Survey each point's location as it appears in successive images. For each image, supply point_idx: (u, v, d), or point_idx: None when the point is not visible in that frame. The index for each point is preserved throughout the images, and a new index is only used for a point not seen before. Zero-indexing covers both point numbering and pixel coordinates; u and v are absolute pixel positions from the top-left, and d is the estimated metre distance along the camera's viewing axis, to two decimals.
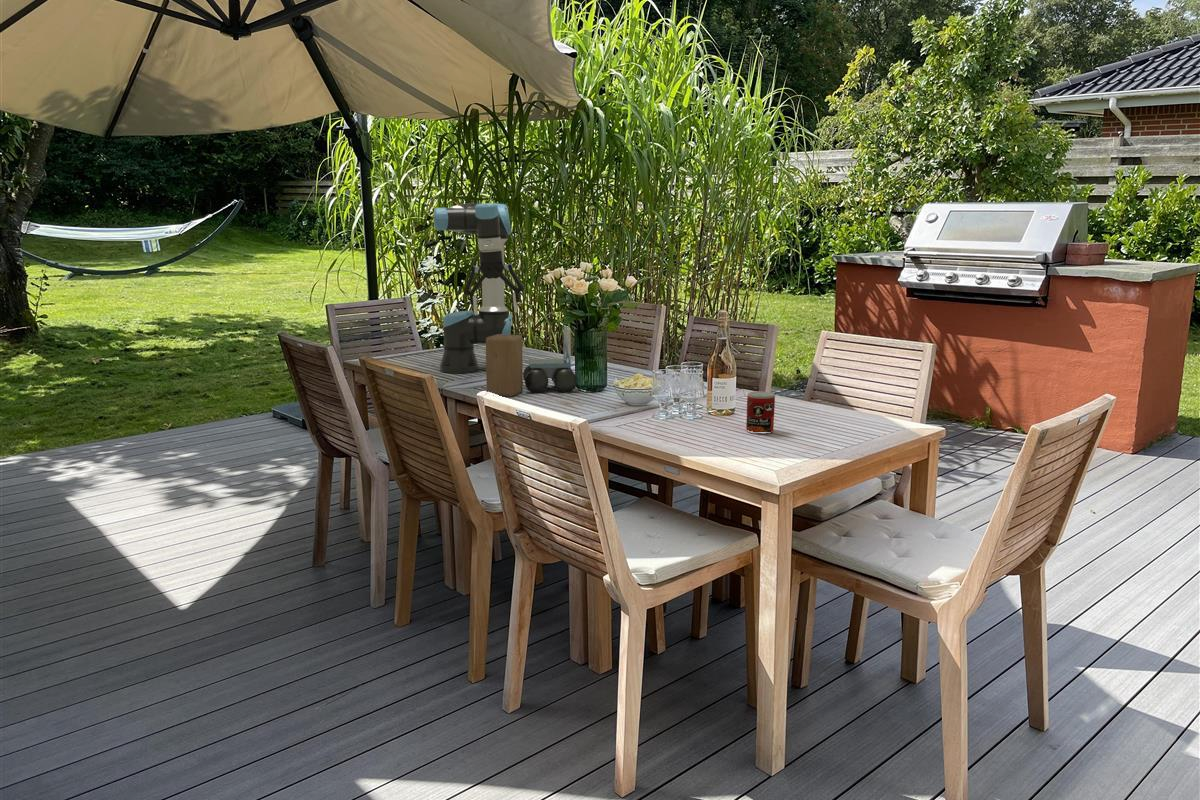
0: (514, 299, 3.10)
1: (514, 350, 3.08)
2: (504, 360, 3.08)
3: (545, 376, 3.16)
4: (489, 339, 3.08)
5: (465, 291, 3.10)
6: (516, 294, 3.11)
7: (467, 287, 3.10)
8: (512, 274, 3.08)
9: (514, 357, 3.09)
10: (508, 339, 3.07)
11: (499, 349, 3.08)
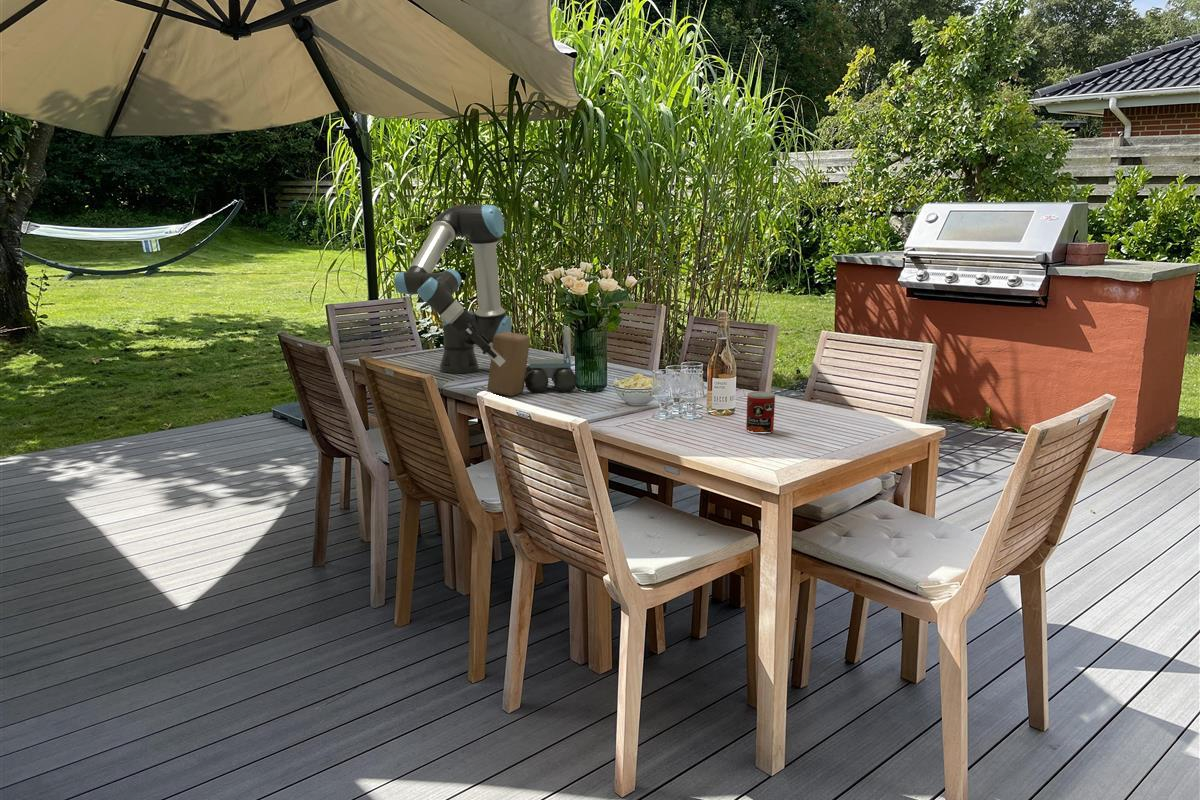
0: (490, 357, 3.05)
1: (520, 350, 3.07)
2: (509, 359, 3.08)
3: (545, 376, 3.16)
4: (497, 336, 3.07)
5: None
6: (488, 353, 3.04)
7: None
8: (472, 339, 3.03)
9: (520, 357, 3.08)
10: (516, 339, 3.06)
11: (505, 348, 3.07)
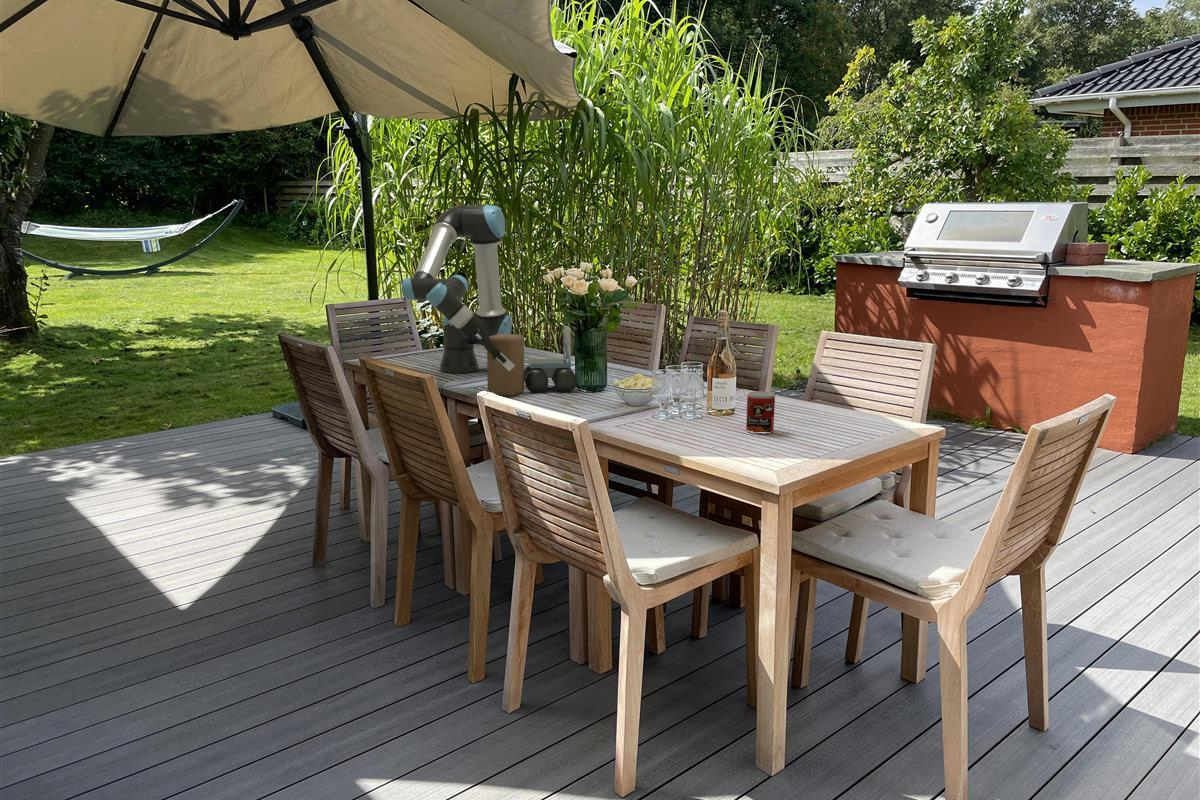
0: None
1: (515, 349, 3.08)
2: None
3: (545, 376, 3.16)
4: (490, 339, 3.09)
5: None
6: (497, 357, 3.06)
7: None
8: (481, 344, 3.05)
9: (515, 356, 3.09)
10: (509, 339, 3.07)
11: (500, 349, 3.08)
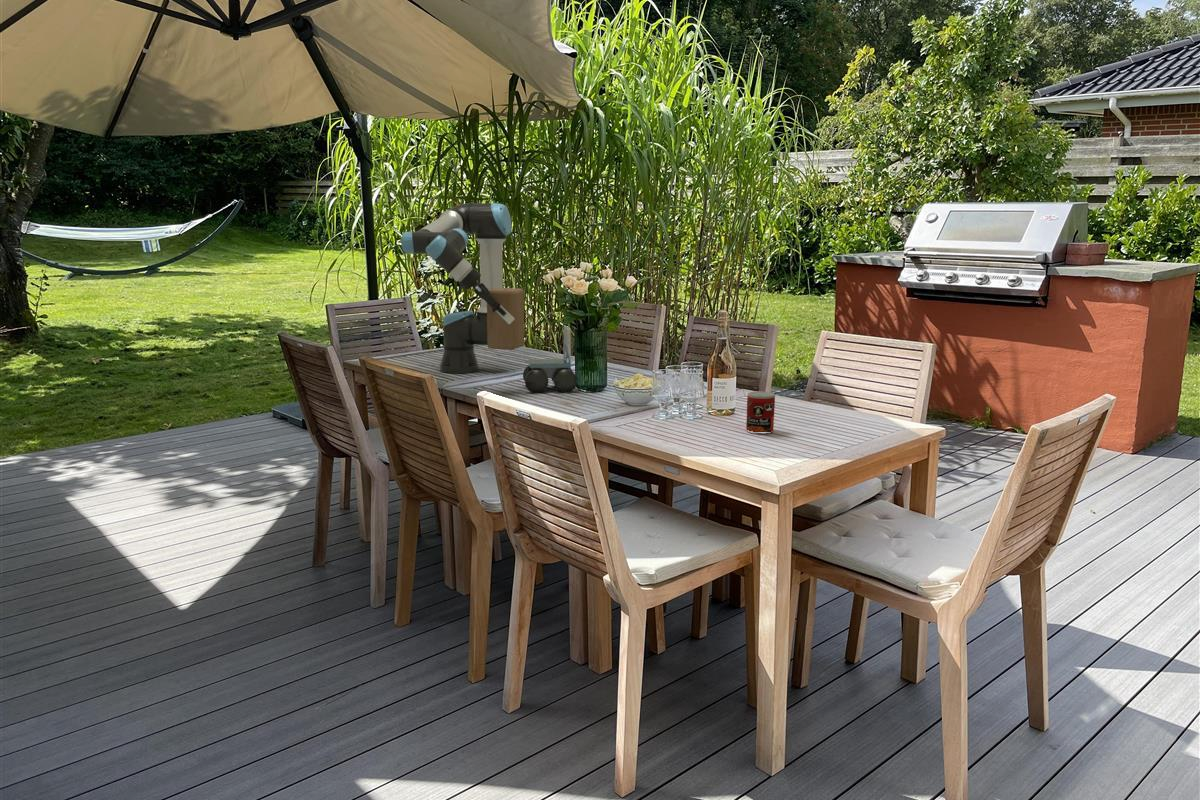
0: None
1: (514, 302, 3.07)
2: None
3: (545, 376, 3.16)
4: (490, 292, 3.08)
5: None
6: (497, 310, 3.05)
7: None
8: (481, 296, 3.04)
9: (515, 310, 3.08)
10: (509, 292, 3.06)
11: (500, 302, 3.07)
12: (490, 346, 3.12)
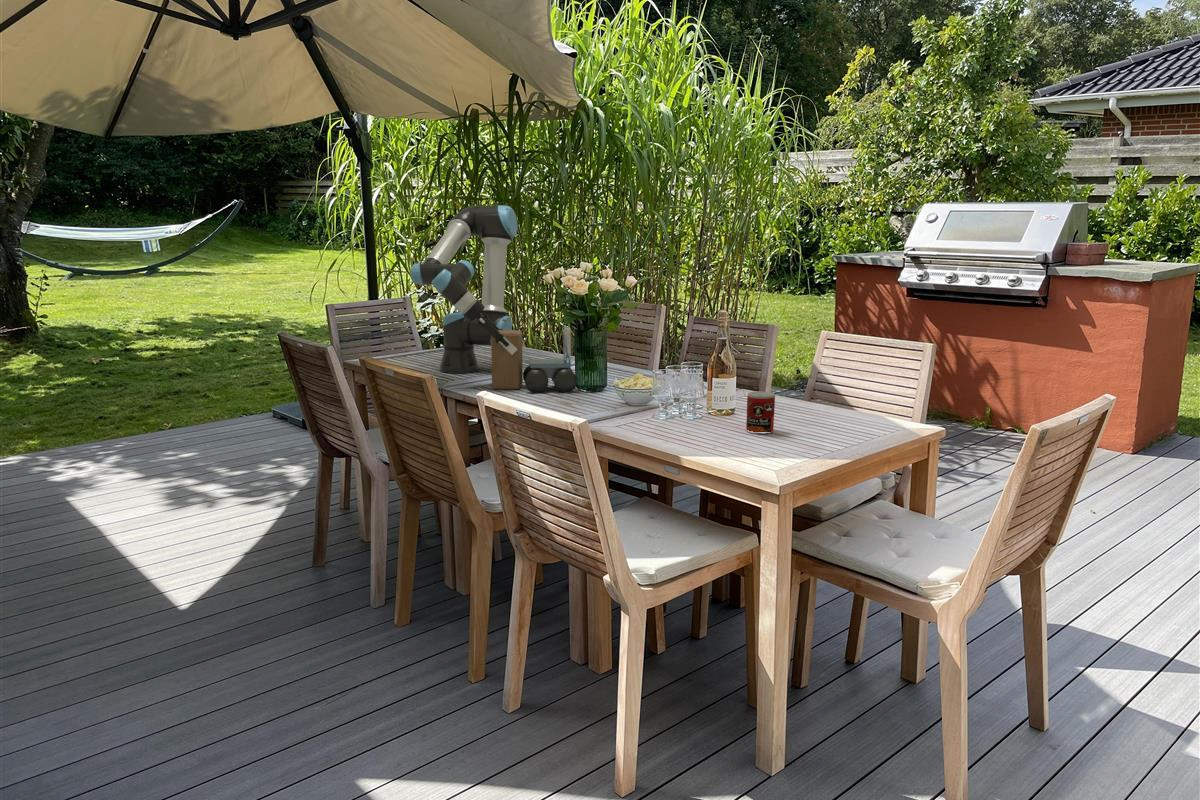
0: (502, 345, 3.19)
1: (520, 344, 3.21)
2: None
3: (545, 376, 3.16)
4: None
5: None
6: (500, 341, 3.18)
7: None
8: (485, 328, 3.17)
9: (520, 351, 3.22)
10: (515, 334, 3.19)
11: None
12: (495, 387, 3.23)
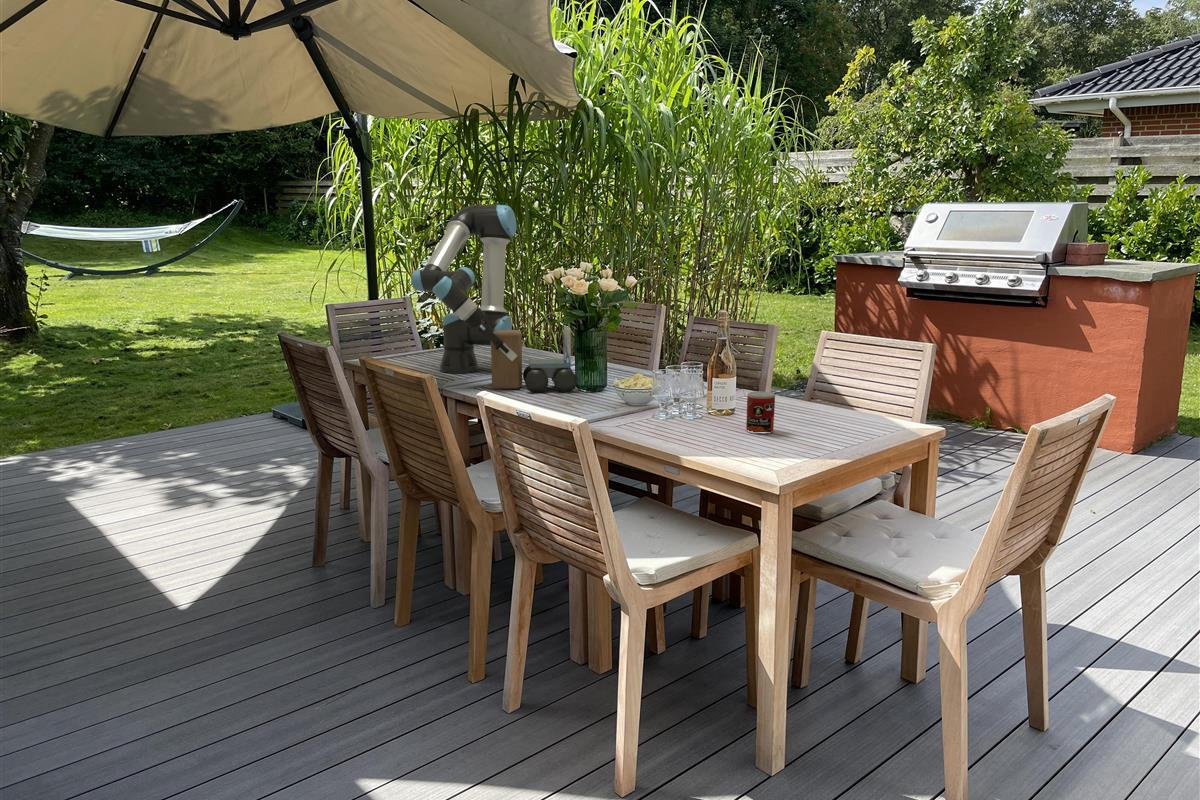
0: None
1: (519, 343, 3.22)
2: None
3: (545, 376, 3.16)
4: (495, 334, 3.20)
5: None
6: (500, 348, 3.18)
7: None
8: (485, 335, 3.17)
9: (519, 350, 3.22)
10: (514, 333, 3.20)
11: (505, 343, 3.20)
12: (495, 386, 3.23)
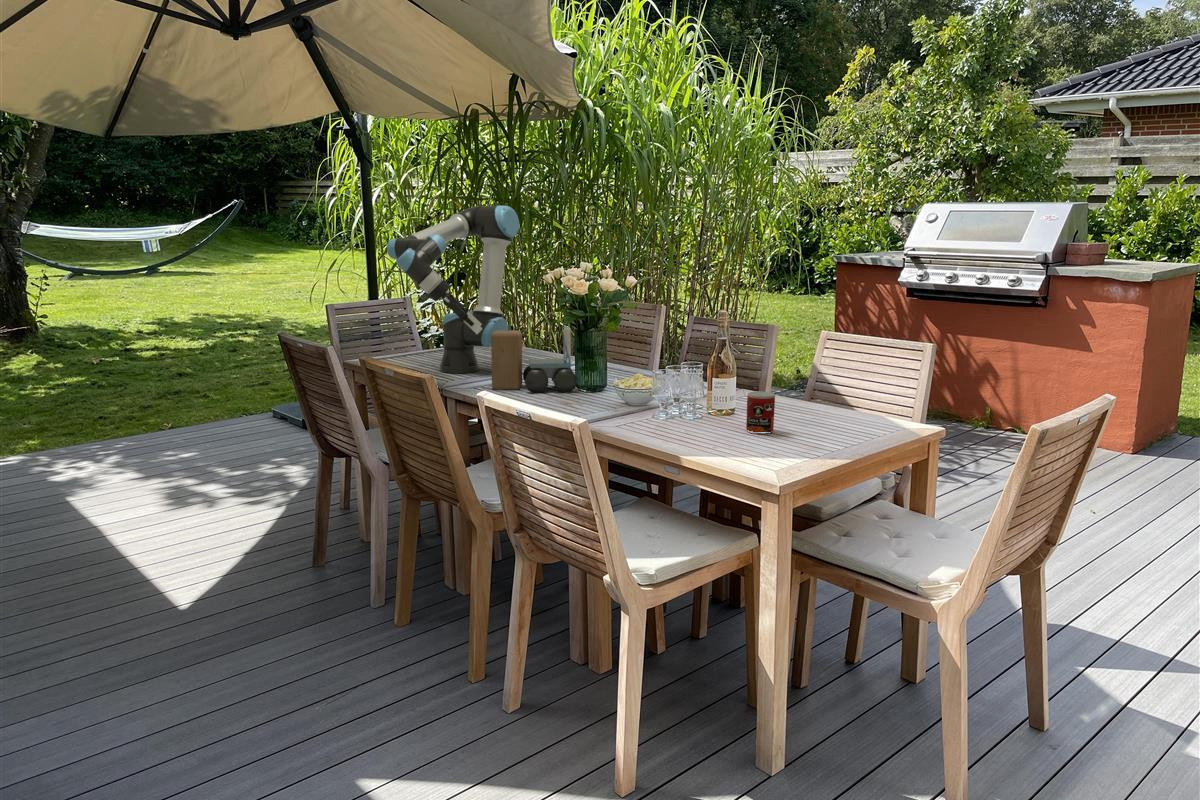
0: (467, 325, 3.16)
1: (520, 344, 3.21)
2: (511, 355, 3.20)
3: (545, 376, 3.16)
4: (495, 335, 3.19)
5: None
6: (465, 320, 3.15)
7: None
8: (449, 307, 3.14)
9: (520, 351, 3.22)
10: (515, 334, 3.19)
11: (506, 344, 3.20)
12: (495, 387, 3.23)
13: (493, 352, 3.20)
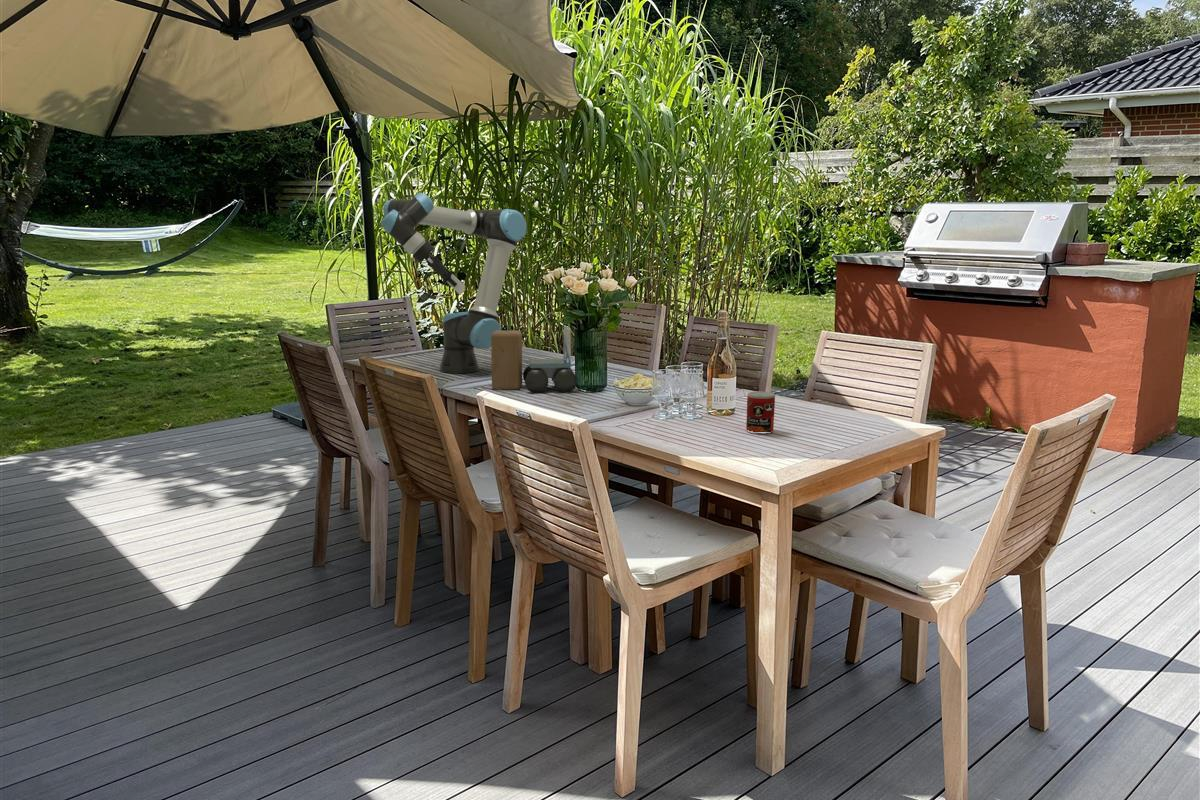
0: (450, 285, 3.20)
1: (520, 344, 3.21)
2: (511, 355, 3.20)
3: (545, 376, 3.16)
4: (495, 335, 3.19)
5: None
6: (448, 281, 3.19)
7: None
8: (433, 268, 3.18)
9: (520, 351, 3.22)
10: (515, 334, 3.19)
11: (506, 344, 3.20)
12: (495, 387, 3.23)
13: (493, 352, 3.20)
